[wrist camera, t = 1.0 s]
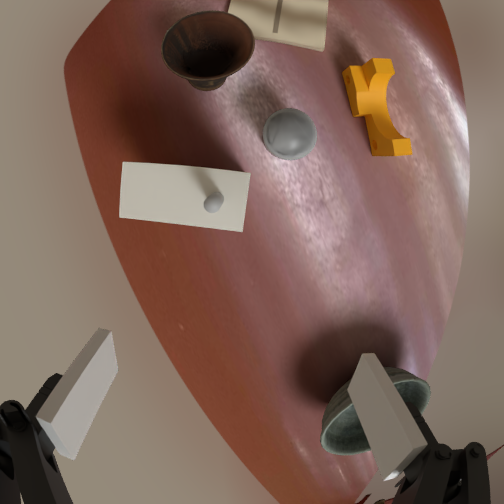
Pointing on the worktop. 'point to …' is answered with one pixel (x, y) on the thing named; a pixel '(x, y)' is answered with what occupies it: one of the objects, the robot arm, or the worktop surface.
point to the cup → (207, 48)
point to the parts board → (285, 20)
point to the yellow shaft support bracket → (375, 106)
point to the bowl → (347, 421)
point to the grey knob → (289, 134)
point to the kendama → (380, 502)
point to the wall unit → (184, 195)
